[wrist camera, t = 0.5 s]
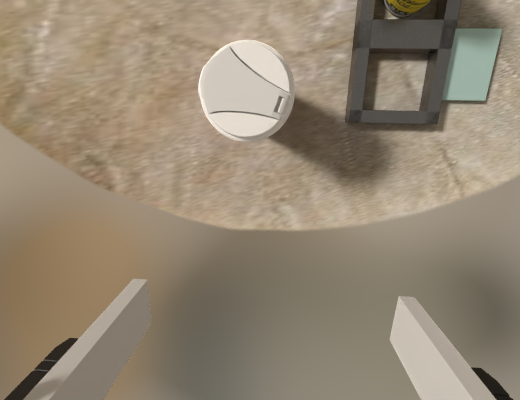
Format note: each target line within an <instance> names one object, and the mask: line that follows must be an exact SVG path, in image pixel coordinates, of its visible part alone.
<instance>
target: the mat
mask: <svg viewBox="0 0 520 400" xmlns="http://www.w3.org/2000/svg"><path fill="white" fill-rule="evenodd" d="M501 32H502V29H486V28H456V30H455V35H454V40H453V45H452V51H451V56H450V61H449V66H448V71H447V76H446V81H445V86H444V92H443V97H442V100H448V101H485V100H486V95H487V91H488V87H489V83H490V78H491V74H492V70H493V66H494V62H495V57H496V53H497V49H498V45H499V40H500V36H501Z"/></svg>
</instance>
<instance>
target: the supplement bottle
mask: <svg viewBox="0 0 520 400" xmlns="http://www.w3.org/2000/svg"><path fill="white" fill-rule="evenodd" d="M430 1H432V0H384V3H385V6H386V7H387V9H388V10H389V11H390V12H391V13H392V14H394V15H396V16H401V17H404V16H409V15H412V14H414V13H416V12H417V11H419V10H420V9H421V8H423V7H424V6H425V5H426V4H428V3H429V2H430Z"/></svg>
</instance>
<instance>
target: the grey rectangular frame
mask: <svg viewBox="0 0 520 400" xmlns="http://www.w3.org/2000/svg"><path fill="white" fill-rule="evenodd" d="M460 4H461V0H438V6H437V12H436V17H435V20H410V19H373V16H374V7H375V0H358V1H357V11H356V21H355V30H354V40H353V49H352V59H351V69H350V78H349V88H348V97H347V107H346V117H345V122H352V123H398V124H437V122H438V117H439V112H440V107H441V102H442V97H443V92H444V86H445V81H446V76H447V71H448V66H449V61H450V56H451V51H452V45H453V40H454V35H455V30H456V25H457V20H458V15H459V9H460ZM369 53H429V57H428V63H427V69H426V74H425V80H424V86H423V92H422V97H421V103H420V109H419V111H386V110H362V108H363V99H364V91H365V82H366V74H367V66H368V57H369Z"/></svg>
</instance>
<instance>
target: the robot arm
mask: <svg viewBox="0 0 520 400" xmlns="http://www.w3.org/2000/svg"><path fill="white" fill-rule="evenodd" d="M150 324H151V311H150V300H149V290H148V280H143V279H133V280H132V281H131V282H130V283H129V285H127V287H126V288H125V289H124V290H123V291H122V292H121V293H120V294H119V295H118V296H117V298H116V299H115V300H114V301H113V302H112V303H111V304H110V305H109V306H108V307H107V309H105V311H104V312H103V313H102V314H101V315H100V316H99V317H98V318H97V319H96V320H95V322H94V323H93V324H92V325H91V326H90V327H89V328H88V329H87V330H86V332H84V334H83V335H82V336H81V337H80V338H79V339H78V338H77V339H76V338H69V339H68V340H66V341H65V342H63V343H62V344H60V345H59V346H57V347H56V348H55V349H54V350H53V351H52V352H51V353H50V354H49V355H48V356H47V357H46V358H45V359H44V361H42V362H41V363H40V364H39V365H38V366H37V367H36V368H35V370H34V371H32V372H31V373H30V374H29V375H28V376H27V377H26V378H25V379H24V380H23V381H22V382H21V383H20V384H19V385H18V386H17V387H16V388H15V390H13V391H12V392H11V394H9V395H8V396H7V397H6V399H4V400H104V398H105V397H106V395H107V394H108V392H109V390H110V388H111V387H112V386H113V384H114V382H115V380H116V379H117V378H118V376H119V374H120V373H121V371H122V369H123V367H124V366H125V365H126V363H127V361H128V360H129V358H130V357H131V355H132V353H133V352H134V350H135V349H136V347H137V345H138V344H139V342H140V341H141V339H142V337H143V336H144V334H145V332H146V331H147V329H148V328H149V326H150ZM390 341H391V343H392V345H393V347H394V349H395V351H396V353H397V355H398V357H399V358H400V360H401V362H402V364H403V366H404V368H405V370H406V372H407V374H408V376H409V377H410V379H411V381H412V383H413V385H414V387H415V389H416V391H417V392H418V394H419V396H420V398H421V400H513V399H512V398H510V397H509V394H508V393H507V392H506V391H505V390H504V389H503V388H502V386H501V385H500V384H499V383H498V382H497V381H496V380H495V379H494V378H493V377H491V376H490V375H489V374H487V373H486V372H485V371H484V370H483V369H481V368H472V367H470V366H469V365H468V364H467V363H466V361H465V360H464V359H463V357H462V356H461V355H460V354H459V352H458V351H457V350H456V349H455V348H454V346H453V345H452V344H451V342H450V341H449V340H448V339H447V337H446V336H445V335H444V334H443V332H442V331H441V330H440V329H439V327H438V326H437V325H436V324H435V322H434V321H433V320H432V319H431V317H430V316H429V315H428V314H427V312H426V311H425V310H424V309H423V307H422V306H421V305H420V304H419V302H418V301H417V300H416V299H415V298H414V297H406V296H399V298H398V303H397V307H396V312H395V317H394V322H393V326H392V331H391V336H390Z"/></svg>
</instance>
